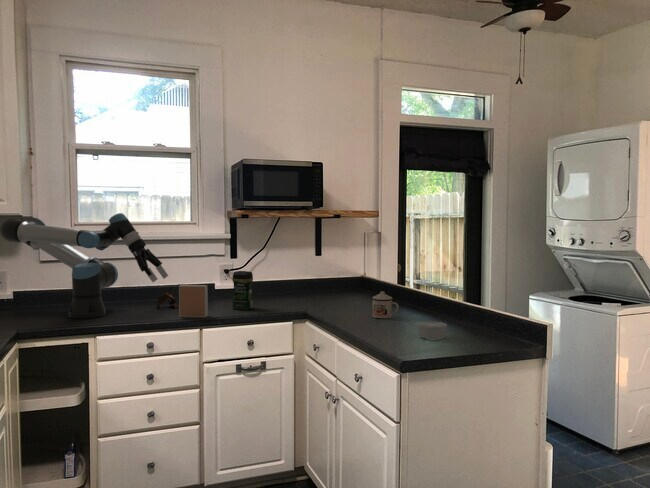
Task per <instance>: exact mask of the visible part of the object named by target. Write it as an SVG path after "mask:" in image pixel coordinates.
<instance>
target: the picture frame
mask: <svg viewBox="0 0 650 488" xmlns="http://www.w3.org/2000/svg"><path fill="white" fill-rule="evenodd" d="M208 294H209V293H208V284H206V285H205V284H201V285H200V284H181V285H180V284H179V285H178V303H179V304H178V307H179V309H178V310H179V313H178V314H179V318H207V317H208V315H209V312H208V309H209V308H208V307H209V304H208V299H209V297H208Z"/></svg>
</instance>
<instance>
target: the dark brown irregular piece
mask: <svg viewBox="0 0 650 488" xmlns="http://www.w3.org/2000/svg"><path fill="white" fill-rule="evenodd" d="M165 301H167V302H168V303H169V305H173V307H174V309H176V308H178V303H177V301H176V296H175V294H173V293H169V292H165V293H164V294H161V295H160V296H158V298H156V299H155V306H156V307H157V308H160V305H164V303H165Z"/></svg>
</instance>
